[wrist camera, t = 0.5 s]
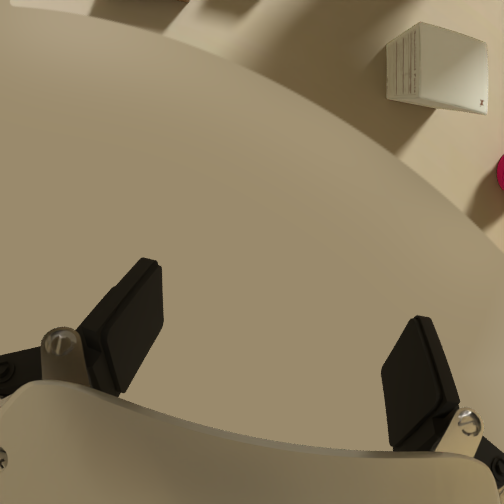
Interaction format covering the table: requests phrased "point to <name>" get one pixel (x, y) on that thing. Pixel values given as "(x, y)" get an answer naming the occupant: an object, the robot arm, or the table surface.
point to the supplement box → (438, 69)
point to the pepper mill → (501, 172)
